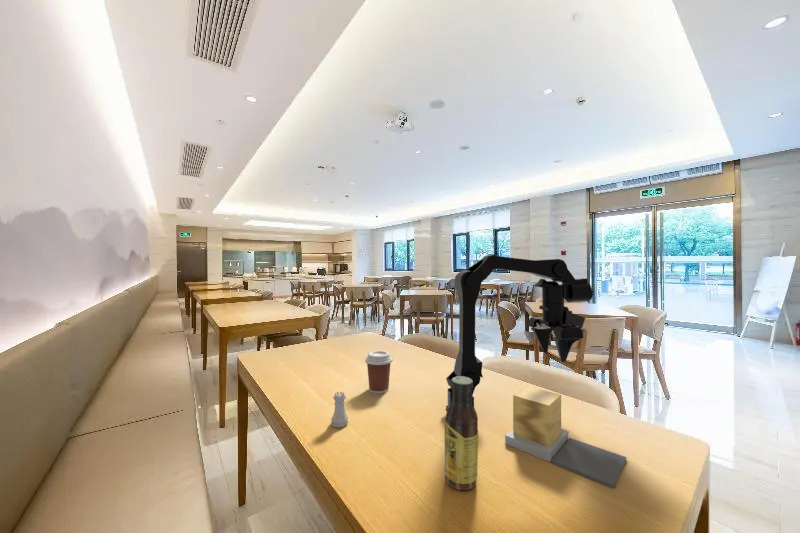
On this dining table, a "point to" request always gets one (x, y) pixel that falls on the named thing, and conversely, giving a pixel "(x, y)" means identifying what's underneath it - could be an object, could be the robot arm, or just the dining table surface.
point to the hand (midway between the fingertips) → (554, 356)
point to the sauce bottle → (461, 436)
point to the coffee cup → (378, 371)
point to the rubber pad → (590, 462)
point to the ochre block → (537, 415)
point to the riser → (537, 445)
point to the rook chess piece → (339, 411)
